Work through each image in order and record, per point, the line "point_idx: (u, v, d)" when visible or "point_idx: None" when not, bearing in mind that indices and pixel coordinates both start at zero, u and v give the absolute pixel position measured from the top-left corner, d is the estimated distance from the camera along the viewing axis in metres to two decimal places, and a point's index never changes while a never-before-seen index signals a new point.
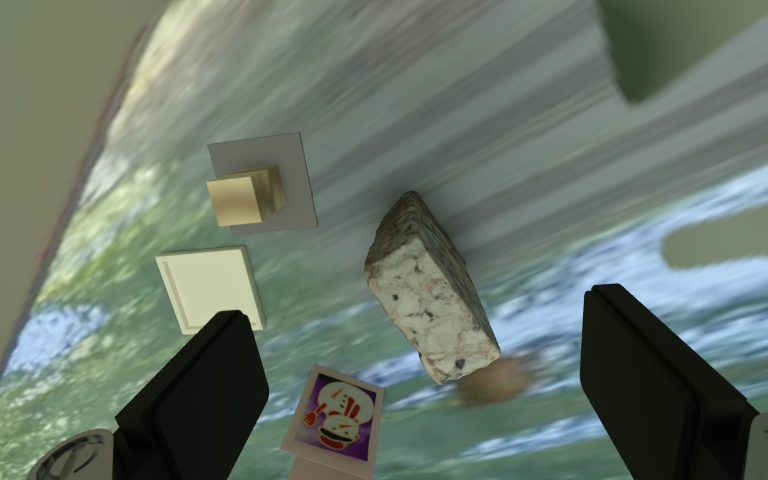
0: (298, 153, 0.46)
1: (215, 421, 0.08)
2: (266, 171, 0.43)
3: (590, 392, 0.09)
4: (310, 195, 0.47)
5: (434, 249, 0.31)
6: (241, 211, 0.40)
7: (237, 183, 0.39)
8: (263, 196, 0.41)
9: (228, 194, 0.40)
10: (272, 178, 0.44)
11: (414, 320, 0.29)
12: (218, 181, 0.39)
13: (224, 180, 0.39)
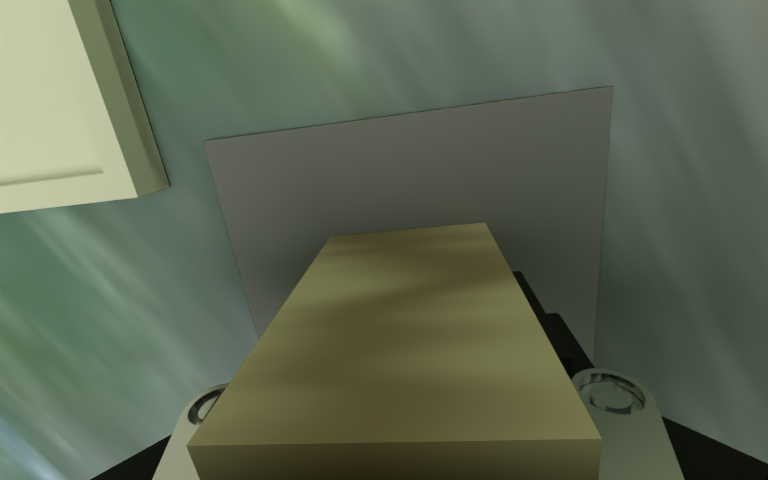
0: None
1: None
2: None
3: None
4: None
5: None
6: None
7: None
8: None
9: None
10: None
11: None
12: None
13: None
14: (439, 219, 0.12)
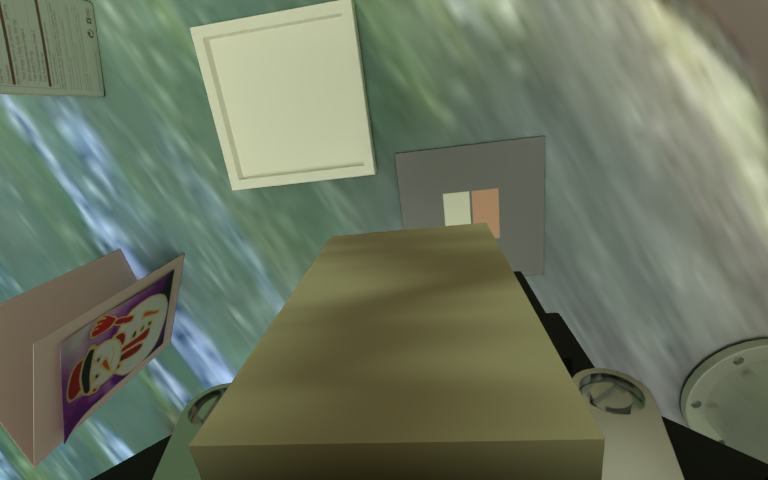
0: (515, 270, 0.33)
1: None
2: None
3: None
4: None
5: None
6: None
7: None
8: None
9: None
10: None
11: None
12: None
13: None
14: (483, 183, 0.31)
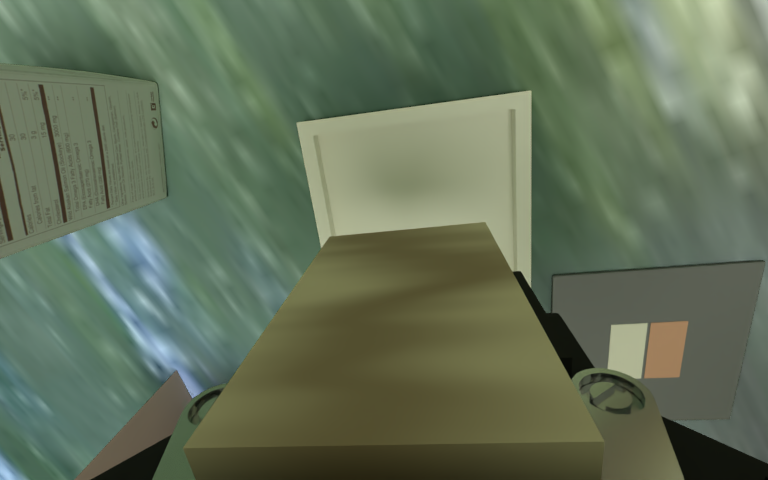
0: (692, 413, 0.26)
1: None
2: None
3: None
4: None
5: None
6: None
7: None
8: None
9: None
10: None
11: None
12: None
13: None
14: (668, 314, 0.24)
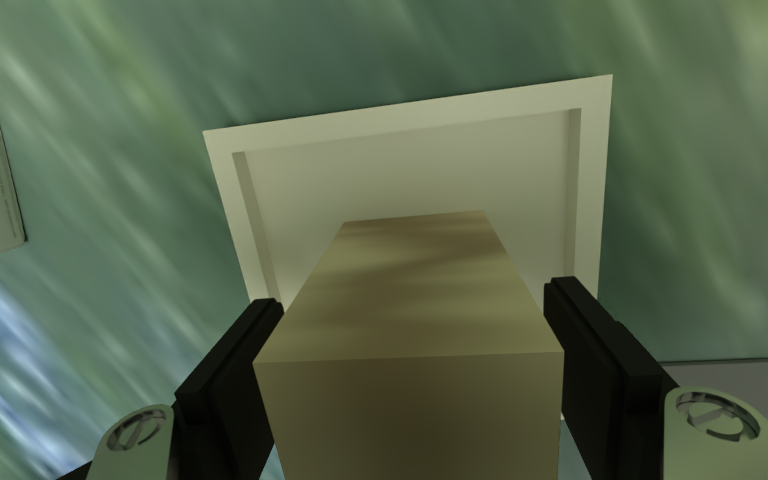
0: None
1: (258, 401, 0.09)
2: None
3: None
4: None
5: None
6: None
7: None
8: None
9: (461, 454, 0.06)
10: None
11: None
12: (551, 421, 0.06)
13: (552, 446, 0.06)
14: None
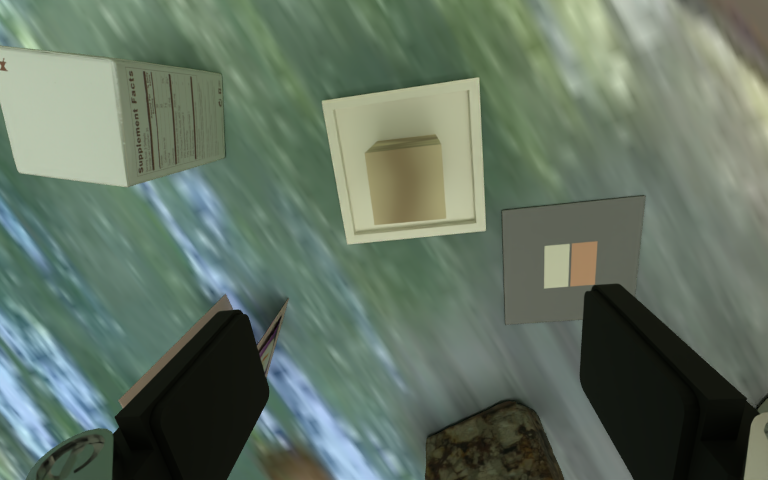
0: None
1: (215, 421, 0.08)
2: None
3: (590, 392, 0.09)
4: (549, 320, 0.37)
5: None
6: (391, 196, 0.25)
7: (436, 196, 0.25)
8: None
9: (418, 179, 0.25)
10: None
11: None
12: (440, 165, 0.24)
13: (442, 175, 0.24)
14: (583, 237, 0.34)
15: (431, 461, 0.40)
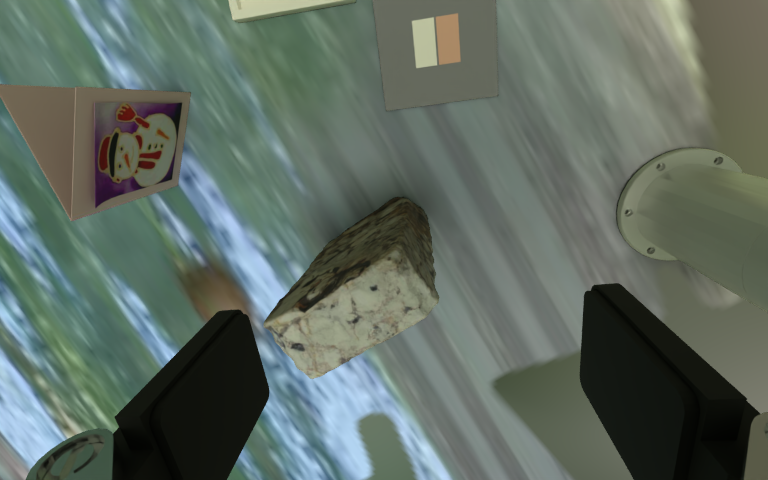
0: (474, 92, 0.39)
1: (215, 421, 0.08)
2: None
3: (590, 392, 0.09)
4: (424, 104, 0.40)
5: None
6: None
7: None
8: None
9: None
10: None
11: (347, 306, 0.27)
12: None
13: None
14: (445, 9, 0.37)
15: (323, 250, 0.43)
